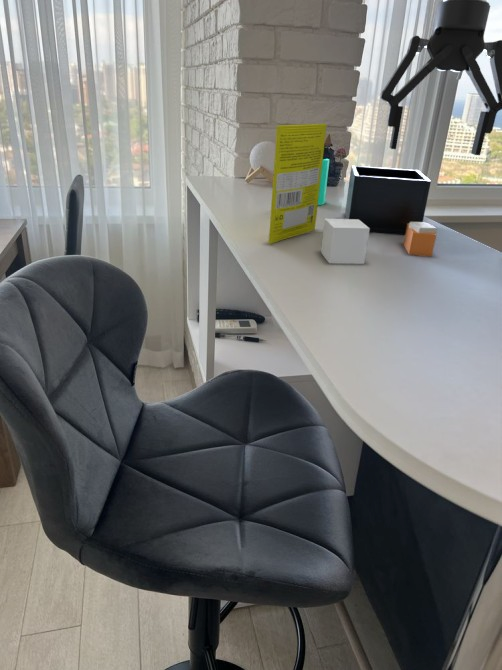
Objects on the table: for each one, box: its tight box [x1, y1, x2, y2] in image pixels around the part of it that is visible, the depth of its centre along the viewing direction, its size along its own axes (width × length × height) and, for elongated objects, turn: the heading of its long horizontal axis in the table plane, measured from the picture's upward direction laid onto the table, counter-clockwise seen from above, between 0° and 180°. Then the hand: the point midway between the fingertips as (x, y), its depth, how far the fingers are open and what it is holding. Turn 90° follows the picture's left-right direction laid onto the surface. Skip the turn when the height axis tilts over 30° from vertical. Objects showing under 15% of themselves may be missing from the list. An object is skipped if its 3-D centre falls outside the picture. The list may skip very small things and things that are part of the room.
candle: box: [318, 158, 330, 206], centre depth 124 cm, size 6×6×12 cm
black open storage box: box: [344, 165, 432, 236], centre depth 107 cm, size 15×15×11 cm
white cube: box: [320, 218, 370, 265], centre depth 85 cm, size 6×6×6 cm
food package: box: [268, 123, 327, 245], centre depth 92 cm, size 15×1×20 cm, turn 141°
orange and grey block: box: [403, 221, 438, 258], centre depth 92 cm, size 4×7×5 cm, turn 173°
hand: (433, 151), depth 85 cm, fingers open, 13 cm apart
